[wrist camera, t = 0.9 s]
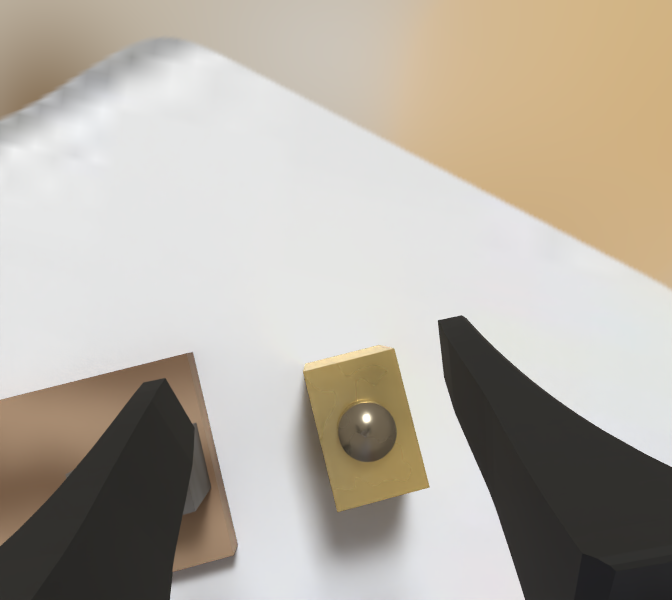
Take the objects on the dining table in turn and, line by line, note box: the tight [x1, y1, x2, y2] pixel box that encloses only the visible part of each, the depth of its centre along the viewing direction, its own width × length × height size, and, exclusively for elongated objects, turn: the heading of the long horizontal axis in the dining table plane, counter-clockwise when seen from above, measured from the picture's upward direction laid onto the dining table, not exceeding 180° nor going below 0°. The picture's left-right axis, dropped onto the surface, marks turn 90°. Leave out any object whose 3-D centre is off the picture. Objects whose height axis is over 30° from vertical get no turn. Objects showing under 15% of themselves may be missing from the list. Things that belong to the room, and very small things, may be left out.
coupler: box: [303, 345, 429, 512], centre depth 23 cm, size 6×4×6 cm, turn 14°
